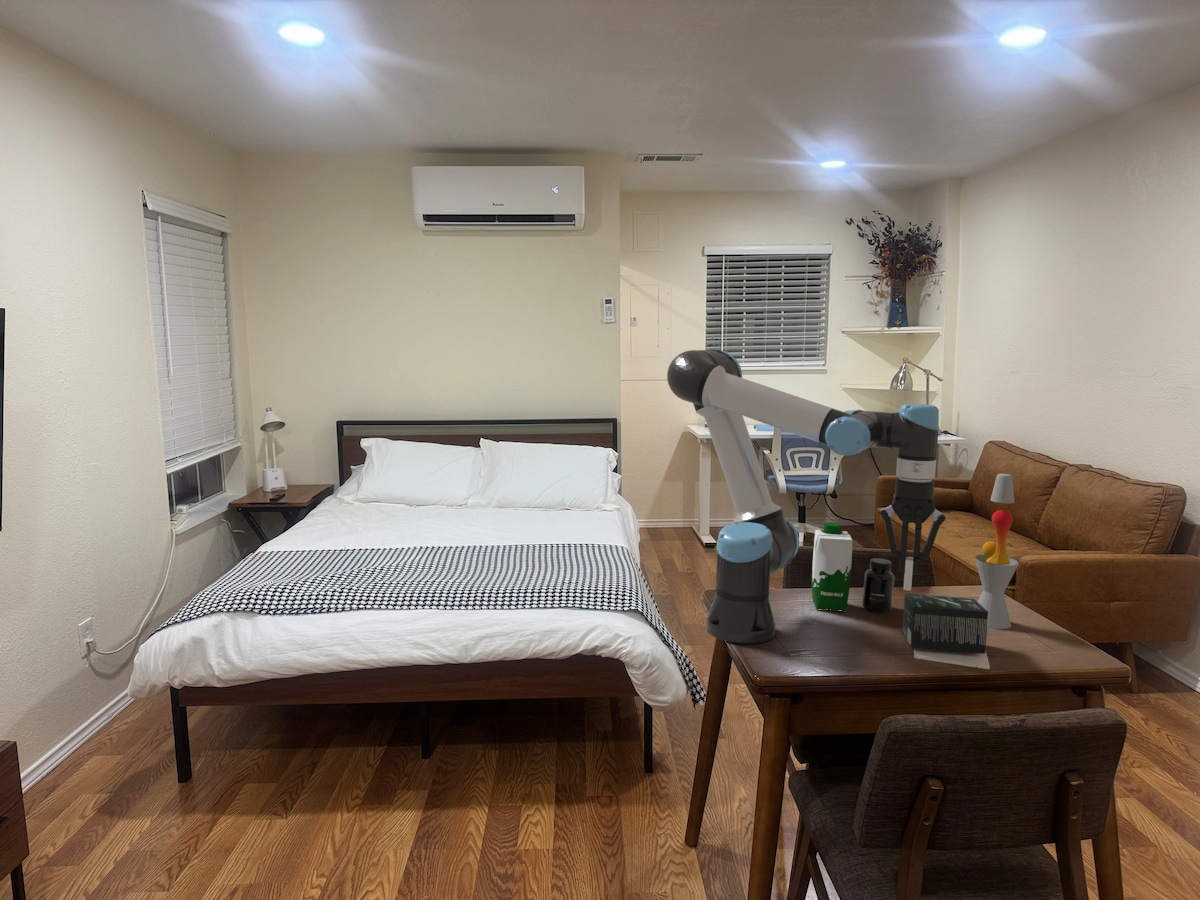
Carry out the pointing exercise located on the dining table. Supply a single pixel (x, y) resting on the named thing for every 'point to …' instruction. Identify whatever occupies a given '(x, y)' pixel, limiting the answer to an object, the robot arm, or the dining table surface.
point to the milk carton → (831, 567)
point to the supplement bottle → (878, 586)
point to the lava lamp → (997, 559)
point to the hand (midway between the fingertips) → (907, 588)
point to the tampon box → (944, 623)
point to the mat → (953, 657)
